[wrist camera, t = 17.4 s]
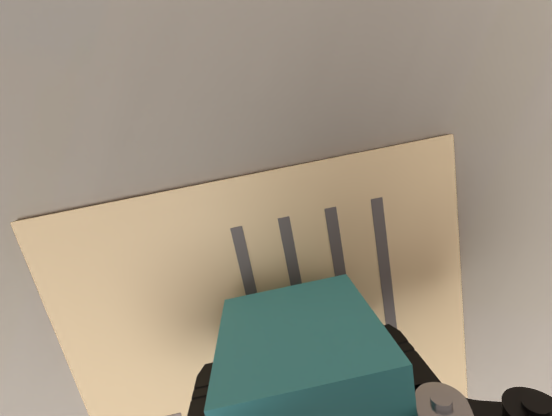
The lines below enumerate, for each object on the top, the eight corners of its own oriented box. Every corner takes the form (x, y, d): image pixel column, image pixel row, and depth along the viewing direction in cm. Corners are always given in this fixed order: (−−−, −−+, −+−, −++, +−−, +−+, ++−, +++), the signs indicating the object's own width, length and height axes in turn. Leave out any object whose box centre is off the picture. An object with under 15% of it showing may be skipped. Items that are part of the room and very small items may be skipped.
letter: (16, 220, 12) (9, 222, 11) (448, 134, 12) (453, 134, 12) (122, 483, 15) (119, 491, 14) (464, 404, 15) (468, 409, 15)
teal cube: (224, 299, 12) (204, 411, 7) (346, 273, 12) (412, 364, 7) (250, 401, 13) (248, 560, 8) (361, 376, 13) (427, 518, 8)
